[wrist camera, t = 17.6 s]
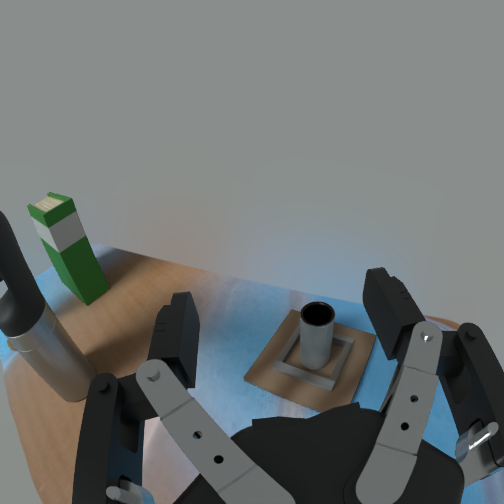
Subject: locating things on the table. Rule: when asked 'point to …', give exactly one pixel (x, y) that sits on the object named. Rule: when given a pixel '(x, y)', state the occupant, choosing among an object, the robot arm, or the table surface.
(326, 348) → the grey cylinder
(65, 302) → the table surface
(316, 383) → the base
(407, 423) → the robot arm
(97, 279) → the hardback book
